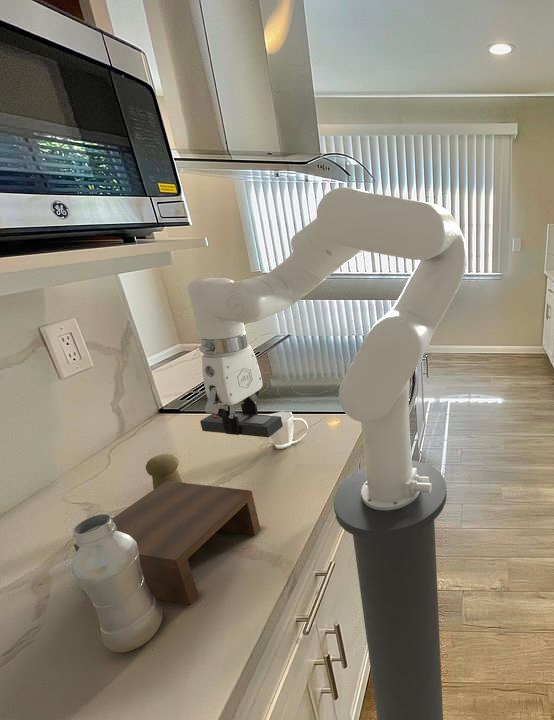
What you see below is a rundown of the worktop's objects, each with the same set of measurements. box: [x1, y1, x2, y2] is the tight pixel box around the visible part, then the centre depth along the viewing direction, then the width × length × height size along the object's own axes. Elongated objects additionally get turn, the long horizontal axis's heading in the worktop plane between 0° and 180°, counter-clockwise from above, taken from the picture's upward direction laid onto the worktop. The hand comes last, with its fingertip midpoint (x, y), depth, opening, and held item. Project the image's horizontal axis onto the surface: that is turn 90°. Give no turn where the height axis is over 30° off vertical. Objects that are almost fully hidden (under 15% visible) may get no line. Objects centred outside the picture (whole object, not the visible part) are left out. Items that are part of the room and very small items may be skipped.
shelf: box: [73, 481, 261, 606], centre depth 68 cm, size 18×16×9 cm
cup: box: [268, 410, 309, 450], centre depth 103 cm, size 7×10×8 cm
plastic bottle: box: [71, 513, 163, 653], centre depth 53 cm, size 6×7×20 cm
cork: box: [145, 452, 186, 490], centre depth 81 cm, size 6×6×11 cm
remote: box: [199, 412, 283, 438], centre depth 82 cm, size 15×5×3 cm, turn 81°
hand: (242, 426), depth 82 cm, fingers closed on remote, 4 cm apart
